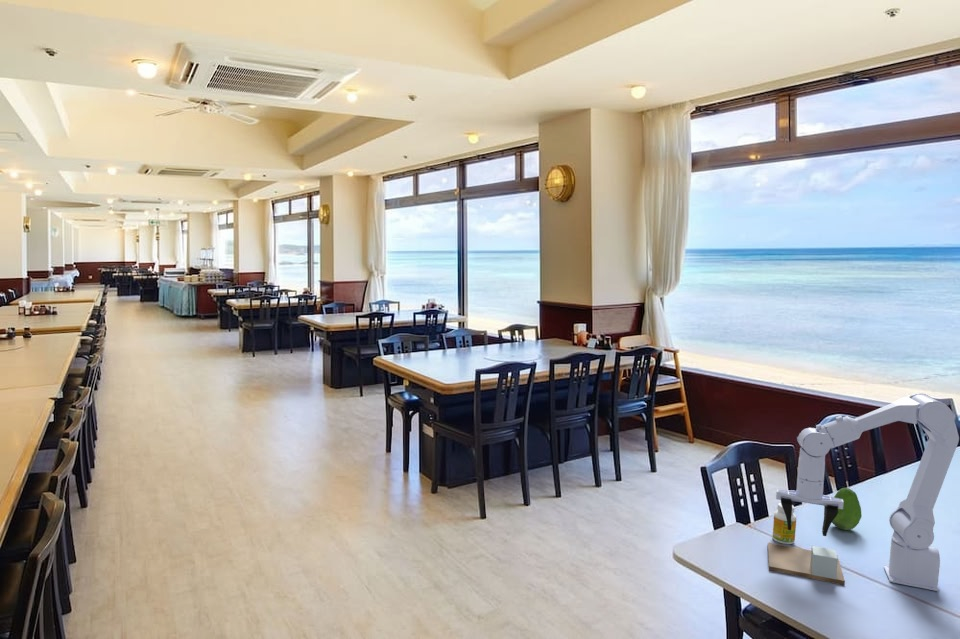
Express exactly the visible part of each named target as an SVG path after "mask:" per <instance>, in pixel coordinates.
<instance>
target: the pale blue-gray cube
mask: <svg viewBox="0 0 960 639" xmlns="http://www.w3.org/2000/svg"><path fill="white" fill-rule="evenodd" d="M810 550H811V562H810V567H811V572H812V575H816V576H821V577H826V578H832V579H836V575H837V563H838V559H839V557H838V558H837V556H838V554H837V550H836V549H832V548H826V547H821V546H815V545H811V549H810Z"/></svg>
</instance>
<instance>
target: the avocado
mask: <svg viewBox="0 0 960 639" xmlns="http://www.w3.org/2000/svg"><path fill="white" fill-rule="evenodd" d="M833 497H834V498H839V499H843V502H844V504H843V509H838V514H837V516H836V517H835V518H834V520H833V521H832V523H831V524H833V525H834V526H835V527H836V528H837V529H839V530H844V531H850V530H853V529H855V528H856V527H857V526H858V525H859V524H860V521H861V519H862V508H861V504H860V501H859V497H858V495H857V493H856V492H855V491H854V490H853V489H851V488H850V487H842V488H840V489H839V490H838V491H837V492H836V494H835V495H834V496H833Z"/></svg>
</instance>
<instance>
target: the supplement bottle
mask: <svg viewBox="0 0 960 639" xmlns="http://www.w3.org/2000/svg"><path fill="white" fill-rule="evenodd" d="M776 509H777V510H775V511H774V515H773V525H772V526H773V527H772V528H773V529H772V540H774V541H775V542H777V543H779V544H781V545H791V544H792V545H793V544H795V541H796V531H797V530H796V528H797V515H796V514H795V513H794V512H795V506H794V505H793V504H792V515H791V530H788V527H787V519H786V515H785V512H784V510H783V507H782V505H781V502H778V504H777V508H776Z"/></svg>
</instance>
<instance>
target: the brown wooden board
mask: <svg viewBox="0 0 960 639" xmlns="http://www.w3.org/2000/svg"><path fill="white" fill-rule="evenodd" d="M837 558H838V563H837V575H836V579H832V578H826V577H821V576H816V575H812V572H811V567H810V562H811V549H810V550H809V549H804V548H801V547H793V546H787V545H784V544H778V543H777V544H776V543H773V542H772V543H771V542H767V559H768V571H771V572H777V573H782V574H787V575H792V576H797V577H802V578H807V579H813V580H817V581H822V582H827V583H833V584H837V585H842V586H845V583H846V580H845V578H844V573H843V570H842V566H841V563H840V559H839V556H838V555H837Z"/></svg>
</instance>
